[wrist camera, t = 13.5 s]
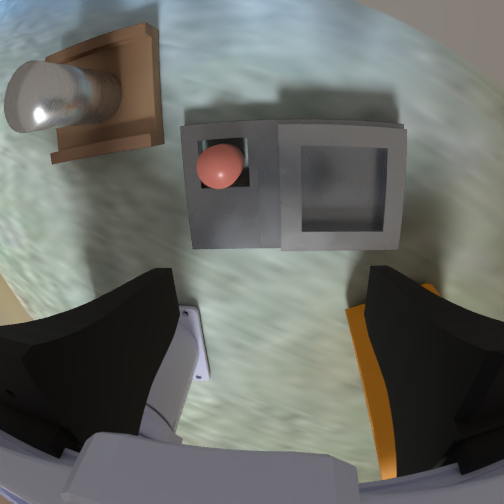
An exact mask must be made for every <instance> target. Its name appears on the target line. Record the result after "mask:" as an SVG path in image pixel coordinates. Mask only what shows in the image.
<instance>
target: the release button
mask: <svg viewBox="0 0 504 504" xmlns="http://www.w3.org/2000/svg"><path fill="white" fill-rule="evenodd" d="M244 166H245V158H244V155H243V153H242V151H241V150H240V149H239V148H238V147H237V146H235V145H234V144H231V143H221V144H218V145H215V146H212V147H210V148H208V149H206V150H205V151H203V152H202V153H201V155H200V156H199V158H198V161H197V173H198V176H199V178H200V180H201V181H202V182H203V183H204V184H205V185H207V186H209V187H211V188H214V189H223V188H226V187H228V186H230V185H232V184H233V183H234V182H235V181H236V179H237V178H238V177H239V175H240V174H241V173H242V171H243V169H244Z"/></svg>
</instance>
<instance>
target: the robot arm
mask: <svg viewBox="0 0 504 504" xmlns="http://www.w3.org/2000/svg"><path fill="white" fill-rule="evenodd" d="M184 311H186V312H188V314H186V313H184ZM364 317H365V322H366V327H367V331H368V336H369V339H370V342H371V344H372V347H373V350H374V353H375V356H376V359H377V361H378V364H379V367H380V370H381V373H382V376H383V379H384V382H385V385H386V389H387V393H388V398H389V404H390V409H391V415H392V423H393V430H394V439H395V451H396V469H397V478H391V479H386V480H380V481H373V482H366V483H359V484H358V477H357V470H356V467H355V466H353V465H351V464H349V463H347V462H344V461H342V460H339V459H337V458H335V457H332V456H330V455H328V454H315V453H303V452H293V451H247V450H231V449H219V448H209V447H200V446H192V445H185V444H182V440H183V439H182V438H181V437H180V436H178V435H176V434H175V432H176V429H177V426H178V423H179V420H180V416H181V413H182V410H183V407H184V404H185V401H186V398H187V395H188V391H189V388H190V385H191V382H192V380H198V381H208V380H209V379H210V371H209V366H208V361H207V356H206V350H205V345H204V339H203V334H202V328H201V322H200V316H199V311H198V309H197V308H196V307H193V306H179V305H178V300H177V295H176V290H175V285H174V279H173V274H172V268H155V269H152V270H150V271H148V272H146V273H144V274H142V275H140V276H138V277H136V278H134V279H133V280H131V281H129V282H127V283H125V284H124V285H122V286H120V287H118V288H116V289H114V290H112V291H111V292H109V293H107V294H105V295H103V296H101V297H99V298H97V299H95V300H93V301H91V302H88V303H86V304H84V305H81V306H79V307H76V308H74V309H71V310H69V311H65V312H62V313H59V314H56V315H53V316H50V317H47V318H43V319H39V320H35V321H30V322H25V323H19V324H12V325H4V326H0V495H2V496H3V497H5V498H6V499H7V500H9V501H10V502H12V503H13V504H504V322H503V321H499V320H496V319H492V318H489V317H486V316H483V315H480V314H477V313H475V312H472V311H470V310H467V309H465V308H463V307H460V306H458V305H456V304H454V303H452V302H450V301H448V300H446V299H444V298H442V297H440V296H438V295H436V294H435V293H433V292H431V291H429V290H428V289H426V288H424V287H423V286H421V285H419V284H418V283H416V282H414V281H413V280H411V279H410V278H408V277H406V276H405V275H403V274H402V273H400V272H398V271H396V270H395V269H393V268H391V267H389V266H370V274H369V282H368V289H367V297H366V303H365V310H364ZM198 375H199V376H198Z"/></svg>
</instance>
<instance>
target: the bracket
mask: <svg viewBox="0 0 504 504" xmlns="http://www.w3.org/2000/svg"><path fill="white" fill-rule="evenodd" d="M421 286H423V287H424V288H426V289H428V290H429V291H431V292H433V293H435V294H436V295H438V296H440V297H441V295H440V294H439V293H438V291H437V290H436V289H435V288H434V286H433V285H432V284H429V283H425V284H421ZM364 310H365V304H362V305H358V306H355V307H352V308H349V309H345V311H346V315H347V319H348V323H349V327H350V332H351V336H352V341H353V345H354V349H355V353H356V358H357V362H358V367H359V371H360V376H361V380H362V385H363V390H364V395H365V399H366V404H367V409H368V413H369V418H370V422H371V427H372V432H373V436H374V441H375V446H376V451H377V457H378V462H379V467H380V473H381V478H382V480H386V479H390V478H394V477H397V469H396V451H395V439H394V430H393V423H392V415H391V409H390V404H389V398H388V393H387V389H386V385H385V382H384V379H383V376H382V373H381V370H380V367H379V364H378V361H377V359H376V356H375V353H374V350H373V347H372V344H371V342H370V339H369V336H368V331H367V327H366V322H365V317H364Z"/></svg>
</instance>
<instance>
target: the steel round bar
mask: <svg viewBox="0 0 504 504" xmlns="http://www.w3.org/2000/svg"><path fill="white" fill-rule="evenodd" d="M121 99H122V88H121V84H120V82H119V80H118V79H117V78H116V77H115V76H114V75H113V74H111V73H108V72H103V71H98V70H93V69H88V68H82V67H77V66H71V65H64V64H58V63H51V62H43V61H29V62H26V63H24V64H23V65H22V66H20V67H19V68H18V69H17V70H16V72H15V73H14V74H13V76H12V78H11V80H10V82H9V84H8V87H7V90H6V94H5V100H4V111H5V116H6V120H7V122H8V124H9V126H10V127H11V128H12V129H13V130H14V131H16V132H19V133H25V132H31V131H38V130H46V129H53V128H62V127H71V126H82V125H94V124H102V123H104V122H106V121H108V120H109V119H111V118H112V117H113V116H114V115H115V113H116V112H117V110H118V108H119V106H120V103H121Z"/></svg>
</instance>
